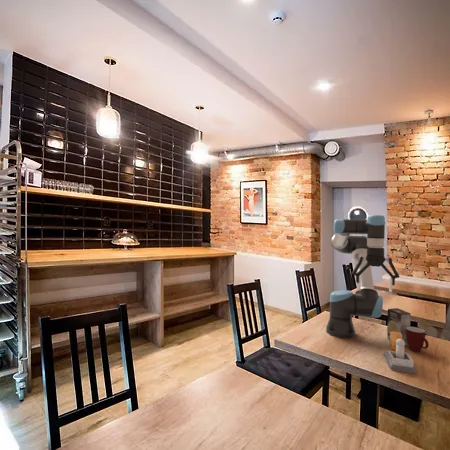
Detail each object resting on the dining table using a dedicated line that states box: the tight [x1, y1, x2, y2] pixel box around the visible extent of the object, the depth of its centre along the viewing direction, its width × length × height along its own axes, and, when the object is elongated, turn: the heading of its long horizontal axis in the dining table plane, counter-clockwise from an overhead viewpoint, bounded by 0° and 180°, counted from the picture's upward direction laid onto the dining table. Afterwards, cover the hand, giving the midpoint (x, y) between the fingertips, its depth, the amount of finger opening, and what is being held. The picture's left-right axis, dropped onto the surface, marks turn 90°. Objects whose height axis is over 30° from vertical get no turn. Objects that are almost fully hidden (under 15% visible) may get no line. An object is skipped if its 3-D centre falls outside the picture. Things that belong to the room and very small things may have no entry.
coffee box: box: [386, 307, 412, 346], centre depth 152 cm, size 9×6×16 cm
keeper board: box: [383, 339, 416, 374], centre depth 127 cm, size 15×9×12 cm, turn 162°
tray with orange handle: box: [387, 331, 415, 368], centre depth 128 cm, size 14×8×10 cm, turn 161°
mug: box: [406, 326, 430, 353], centre depth 140 cm, size 10×8×10 cm
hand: (374, 290), depth 141 cm, fingers open, 13 cm apart
